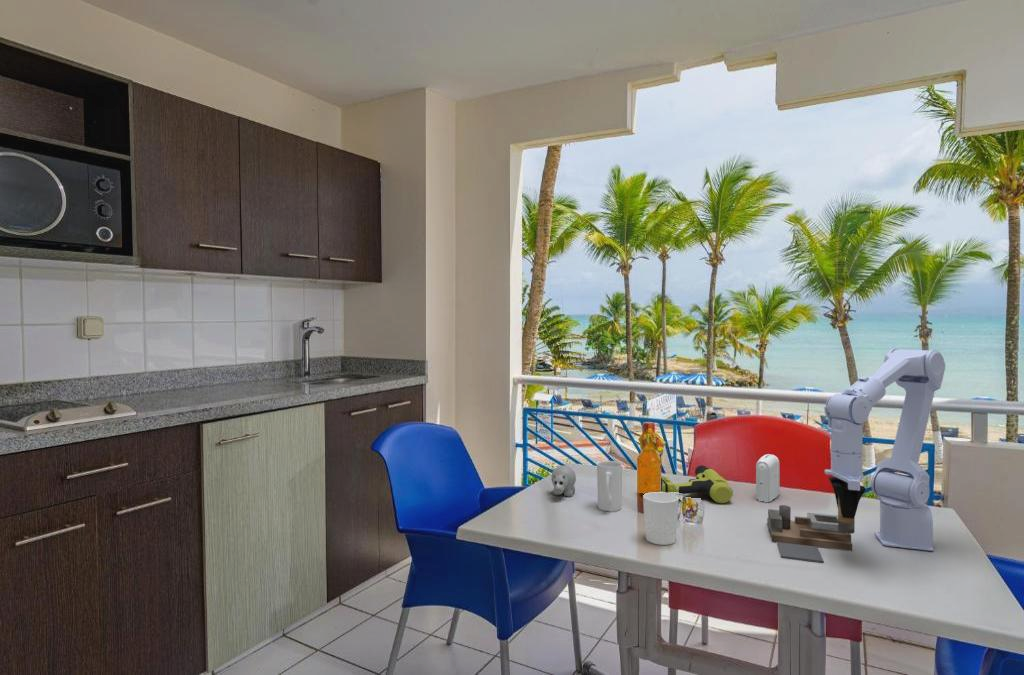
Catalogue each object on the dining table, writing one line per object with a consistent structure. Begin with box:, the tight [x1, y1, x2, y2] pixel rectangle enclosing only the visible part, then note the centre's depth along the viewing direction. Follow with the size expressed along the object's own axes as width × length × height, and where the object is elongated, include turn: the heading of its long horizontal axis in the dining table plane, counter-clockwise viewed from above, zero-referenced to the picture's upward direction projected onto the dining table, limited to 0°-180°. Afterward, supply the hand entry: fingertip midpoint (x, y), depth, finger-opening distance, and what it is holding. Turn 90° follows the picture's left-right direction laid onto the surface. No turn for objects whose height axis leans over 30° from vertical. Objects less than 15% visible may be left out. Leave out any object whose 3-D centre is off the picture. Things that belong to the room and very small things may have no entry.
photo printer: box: [755, 453, 780, 503], centre depth 159 cm, size 10×4×12 cm, turn 138°
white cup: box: [642, 492, 679, 546], centre depth 128 cm, size 8×8×10 cm
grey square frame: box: [806, 512, 843, 533], centre depth 128 cm, size 7×7×3 cm
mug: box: [596, 460, 623, 512], centre depth 150 cm, size 10×7×12 cm, turn 164°
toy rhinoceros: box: [550, 465, 577, 498], centre depth 161 cm, size 7×12×8 cm, turn 161°
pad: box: [776, 542, 824, 564], centre depth 120 cm, size 8×8×1 cm
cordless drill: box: [661, 464, 734, 504], centre depth 165 cm, size 7×25×25 cm
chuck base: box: [766, 504, 853, 552], centre depth 130 cm, size 16×12×6 cm
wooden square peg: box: [837, 497, 856, 535], centre depth 118 cm, size 3×3×9 cm
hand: (846, 514), depth 118 cm, fingers closed on wooden square peg, 3 cm apart
